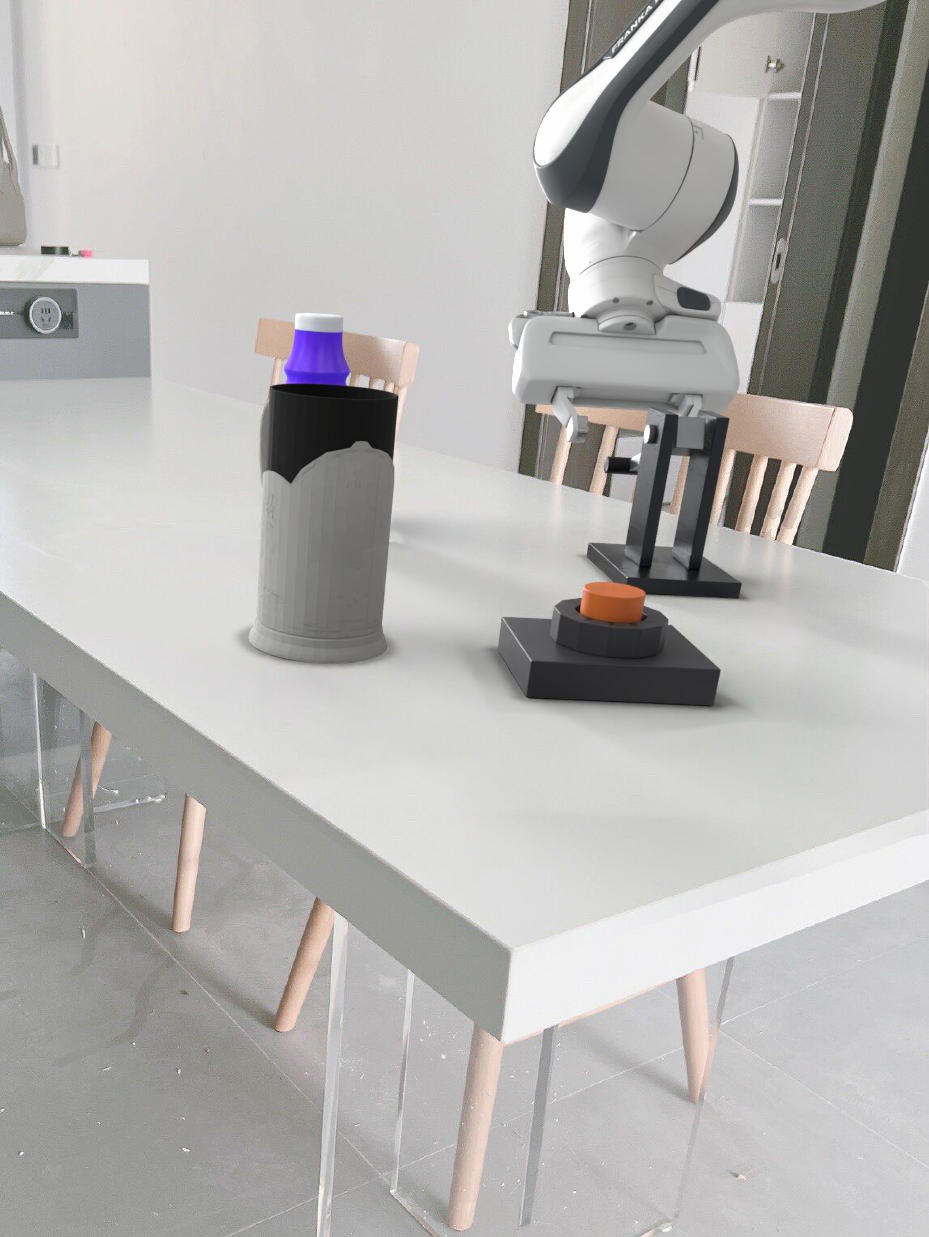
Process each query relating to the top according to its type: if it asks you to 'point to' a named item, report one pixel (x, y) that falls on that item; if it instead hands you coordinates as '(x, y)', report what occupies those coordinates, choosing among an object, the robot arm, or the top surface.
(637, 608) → the button
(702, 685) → the switch box
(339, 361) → the bottle
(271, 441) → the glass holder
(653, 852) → the top surface
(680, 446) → the lever
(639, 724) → the top surface
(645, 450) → the bracket
